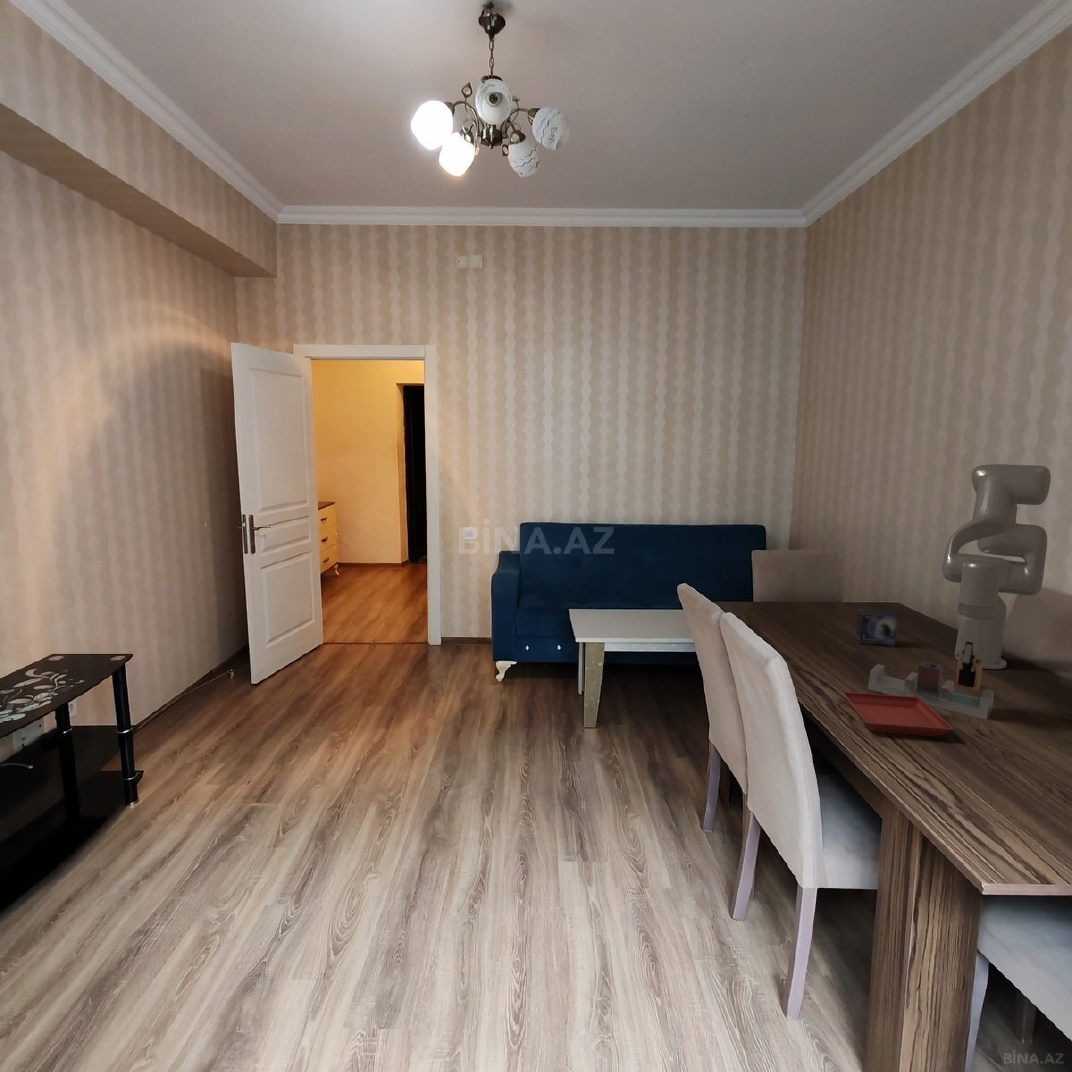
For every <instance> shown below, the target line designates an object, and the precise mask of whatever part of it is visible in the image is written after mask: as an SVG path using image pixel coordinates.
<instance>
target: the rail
mask: <svg viewBox="0 0 1072 1072" xmlns="http://www.w3.org/2000/svg"><path fill="white" fill-rule="evenodd" d="M885 668H886V665H884V664H880V663H878V664H876V665H875V666H874V667H872V668H871V669H870V670H869V680H868V682H867V683H868V686H867V690H870V691H874V692H877V693H878V692H879V693H882V694H884V695H894V696H908V697H918V698H920V699H921V700H923V701H924V702H925V703H926V704H927V705H928V706H931V707H932V706H933V707H935V708H940V709H943V710H949V711H952V712H956V713H961V714H963V715H967V716H972V717H975V718H979V719H982V720H988V718H989V716H990V714H991V713H992V711H993V704H994V697H995V690H992V689H988V688H985V689H984V691H983V692H982V694H981V695H980V698H979V697H976V696H971V695H967V694H964V693H963V694H962V693H959V692H954V689H955V680H950V679H949V680H948V679H947V680H946V681H945V683H944V684H943V685H942V686H941V692H940V693H939V694H938V696H932V695H928V694H924V693H920V692H916V689H917V680H918V673H917V672H914V671H911V672H910V674H908V675H907V677H906V678H905V679H900V678H897V677H892V676H888V675H885V670H886V669H885Z"/></svg>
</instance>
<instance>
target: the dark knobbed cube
mask: <svg viewBox="0 0 1072 1072" xmlns="http://www.w3.org/2000/svg"><path fill="white" fill-rule="evenodd" d="M943 673H944V664H938V663H934V662H929V661H926V660H925V661H924V660H923V661H922V662H921V663H920V664H919V665H918V680H917V689H916V692H920V693H924V694H928V695H932V696H938V694H939V693H940V692H941V688H942V683H943Z"/></svg>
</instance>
